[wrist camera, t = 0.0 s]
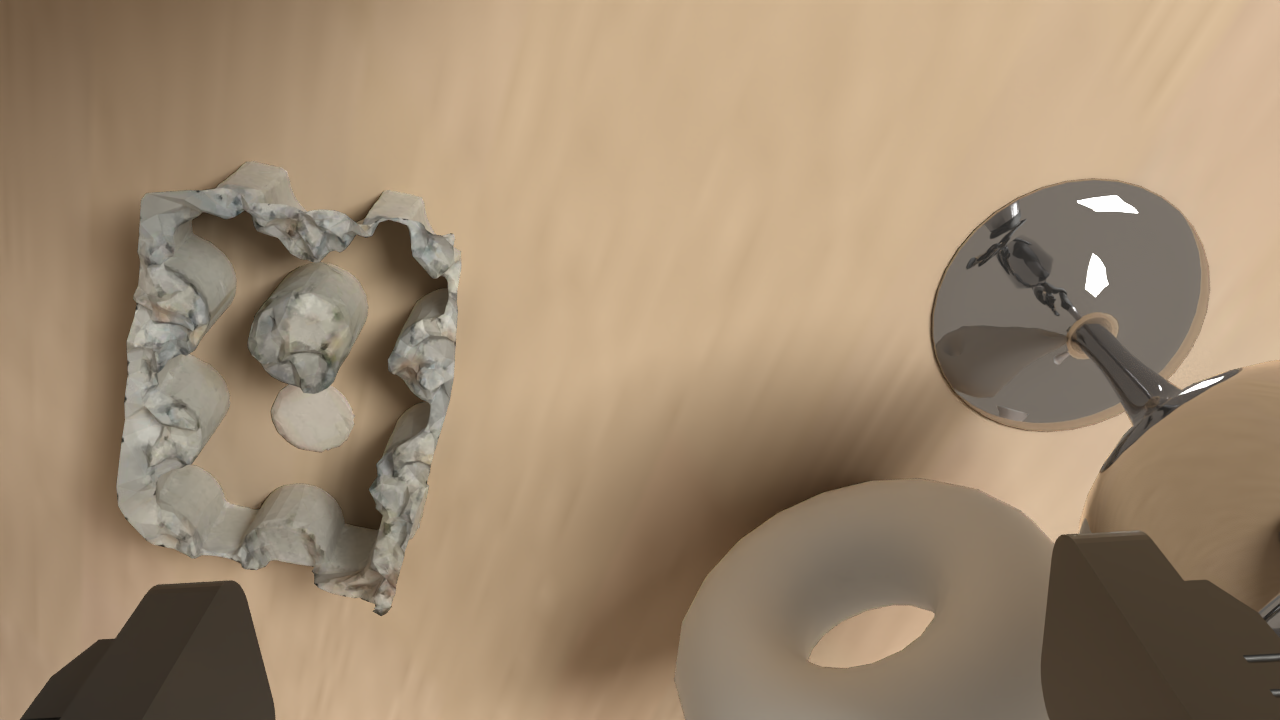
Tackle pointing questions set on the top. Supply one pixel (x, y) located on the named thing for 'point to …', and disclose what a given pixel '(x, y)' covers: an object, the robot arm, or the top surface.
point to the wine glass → (1121, 373)
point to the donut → (869, 579)
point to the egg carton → (292, 353)
